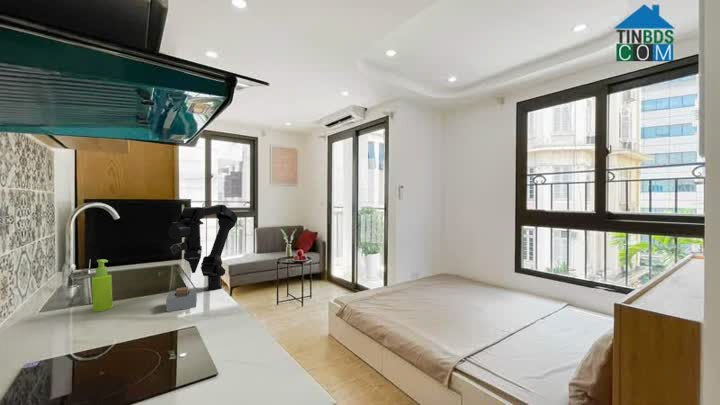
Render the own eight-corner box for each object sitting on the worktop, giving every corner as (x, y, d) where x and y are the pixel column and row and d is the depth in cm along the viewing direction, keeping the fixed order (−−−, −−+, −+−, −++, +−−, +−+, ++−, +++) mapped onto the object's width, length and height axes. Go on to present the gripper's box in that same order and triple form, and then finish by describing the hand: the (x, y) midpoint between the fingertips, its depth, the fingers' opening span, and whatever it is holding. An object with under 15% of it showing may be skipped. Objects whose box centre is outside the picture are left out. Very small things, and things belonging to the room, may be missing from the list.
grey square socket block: (169, 303, 122) (169, 291, 122) (196, 299, 127) (196, 288, 127) (166, 311, 113) (166, 299, 113) (196, 307, 118) (195, 294, 118)
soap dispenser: (97, 313, 113) (95, 262, 112) (90, 310, 116) (88, 260, 116) (116, 308, 118) (114, 259, 117) (108, 305, 121) (107, 257, 121)
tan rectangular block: (177, 305, 121) (176, 288, 120) (188, 303, 122) (188, 286, 122) (176, 307, 118) (175, 290, 118) (187, 305, 120) (187, 288, 120)
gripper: (173, 234, 134) (174, 268, 134) (168, 240, 117) (170, 278, 118) (201, 232, 139) (202, 265, 139) (200, 237, 122) (201, 274, 123)
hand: (194, 270), depth 130 cm, fingers open, 9 cm apart
